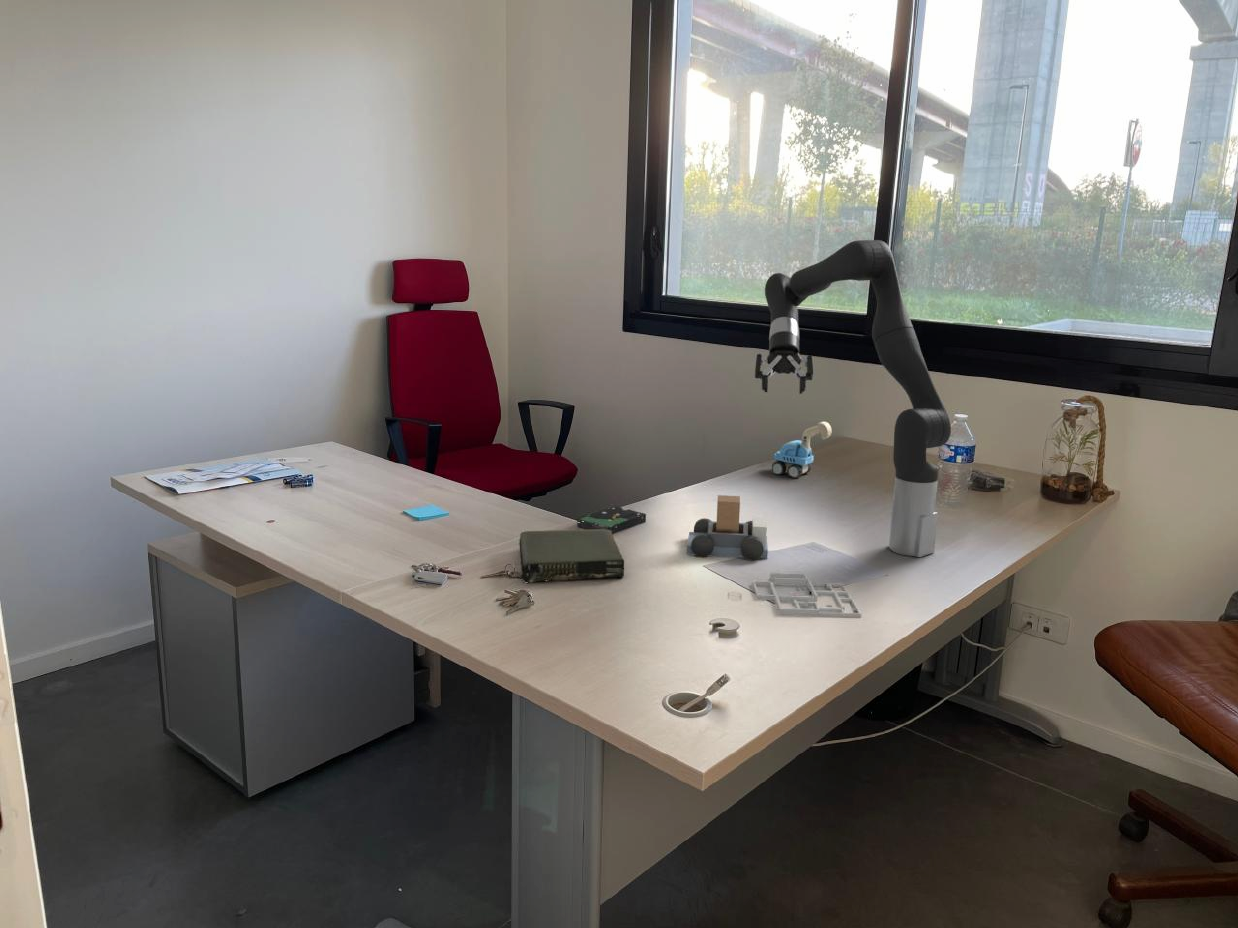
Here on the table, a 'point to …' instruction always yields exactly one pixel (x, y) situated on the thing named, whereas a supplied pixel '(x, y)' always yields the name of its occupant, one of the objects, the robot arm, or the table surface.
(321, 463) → the table surface
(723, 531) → the brown rectangular block
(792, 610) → the floor plan model
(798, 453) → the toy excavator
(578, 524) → the disk drive
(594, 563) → the network switch
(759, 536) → the chassis
